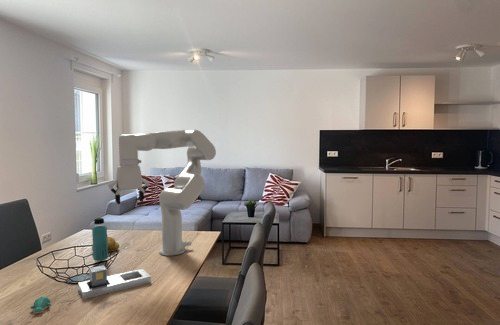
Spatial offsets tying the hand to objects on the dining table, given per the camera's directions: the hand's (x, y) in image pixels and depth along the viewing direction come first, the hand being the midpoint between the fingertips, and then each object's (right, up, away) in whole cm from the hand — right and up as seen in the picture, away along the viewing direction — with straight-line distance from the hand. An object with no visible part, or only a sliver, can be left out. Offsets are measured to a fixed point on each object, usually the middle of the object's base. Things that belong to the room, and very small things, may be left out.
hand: (130, 202), depth 149 cm
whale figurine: (-17, -31, -36) cm, 51 cm away
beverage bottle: (-16, -28, +8) cm, 33 cm away
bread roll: (-20, -27, +22) cm, 41 cm away
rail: (+1, -30, -18) cm, 35 cm away
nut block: (-4, -30, -22) cm, 37 cm away
